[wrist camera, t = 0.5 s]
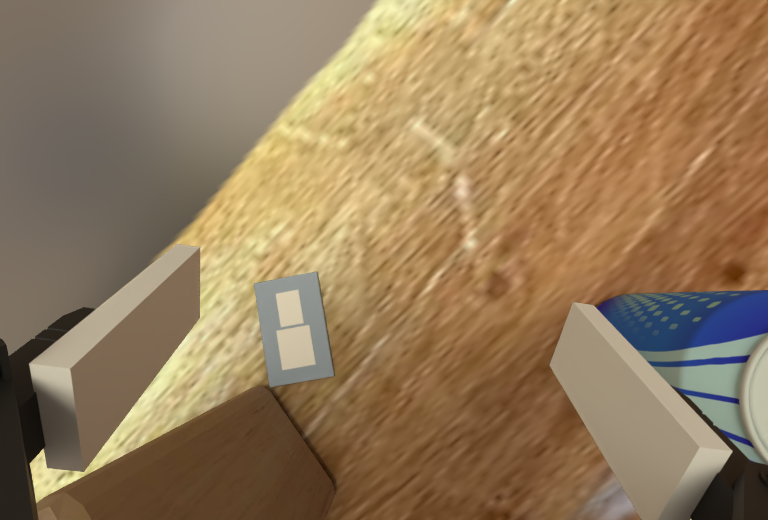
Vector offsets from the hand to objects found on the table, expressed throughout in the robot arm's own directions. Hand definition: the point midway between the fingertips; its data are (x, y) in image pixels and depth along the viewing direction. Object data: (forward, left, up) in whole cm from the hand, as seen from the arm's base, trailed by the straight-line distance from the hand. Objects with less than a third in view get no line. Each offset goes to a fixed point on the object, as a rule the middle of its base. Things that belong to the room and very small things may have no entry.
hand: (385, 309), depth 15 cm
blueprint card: (0, +9, -18) cm, 20 cm away
